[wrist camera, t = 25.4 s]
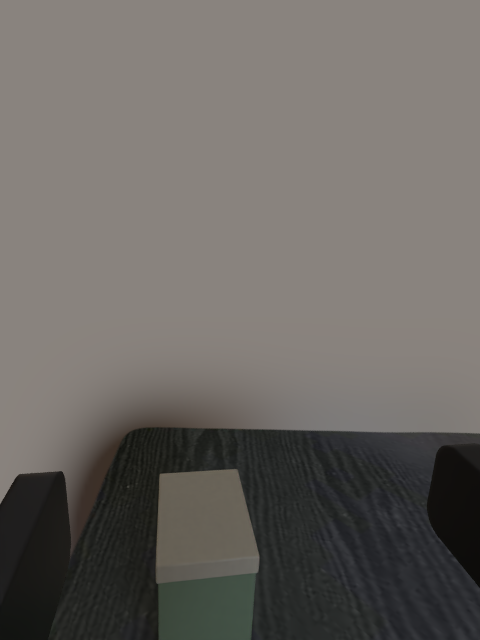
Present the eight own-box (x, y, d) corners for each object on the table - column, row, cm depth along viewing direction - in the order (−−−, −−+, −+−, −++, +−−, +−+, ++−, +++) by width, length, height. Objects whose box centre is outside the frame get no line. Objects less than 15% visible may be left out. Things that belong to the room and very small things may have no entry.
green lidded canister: (229, 615, 28) (237, 468, 25) (246, 734, 22) (260, 556, 19) (160, 624, 27) (159, 473, 24) (157, 750, 21) (155, 567, 18)
